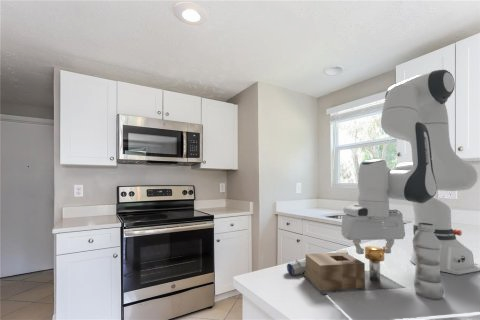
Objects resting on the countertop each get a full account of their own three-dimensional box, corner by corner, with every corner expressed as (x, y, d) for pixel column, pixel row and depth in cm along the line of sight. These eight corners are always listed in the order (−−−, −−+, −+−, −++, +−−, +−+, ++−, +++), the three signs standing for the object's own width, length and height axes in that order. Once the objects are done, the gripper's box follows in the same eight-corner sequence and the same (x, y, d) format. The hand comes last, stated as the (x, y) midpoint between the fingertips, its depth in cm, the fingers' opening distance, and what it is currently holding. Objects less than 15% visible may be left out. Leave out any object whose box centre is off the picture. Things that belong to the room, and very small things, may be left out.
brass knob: (376, 275, 82) (376, 245, 82) (388, 282, 76) (388, 251, 77) (361, 276, 81) (361, 246, 81) (372, 283, 75) (372, 251, 76)
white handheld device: (285, 260, 85) (343, 244, 93) (287, 280, 85) (345, 262, 93) (293, 266, 80) (353, 248, 88) (295, 286, 80) (356, 267, 88)
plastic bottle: (434, 305, 64) (432, 227, 65) (408, 293, 71) (406, 222, 72) (449, 300, 67) (446, 225, 68) (422, 289, 73) (420, 221, 74)
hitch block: (375, 272, 86) (374, 249, 86) (405, 289, 73) (404, 263, 73) (303, 276, 82) (303, 252, 82) (322, 295, 69) (322, 267, 69)
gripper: (394, 208, 84) (395, 249, 83) (338, 208, 81) (338, 250, 80) (409, 210, 78) (410, 255, 77) (350, 210, 75) (350, 257, 74)
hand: (373, 253), depth 79 cm, fingers open, 8 cm apart
